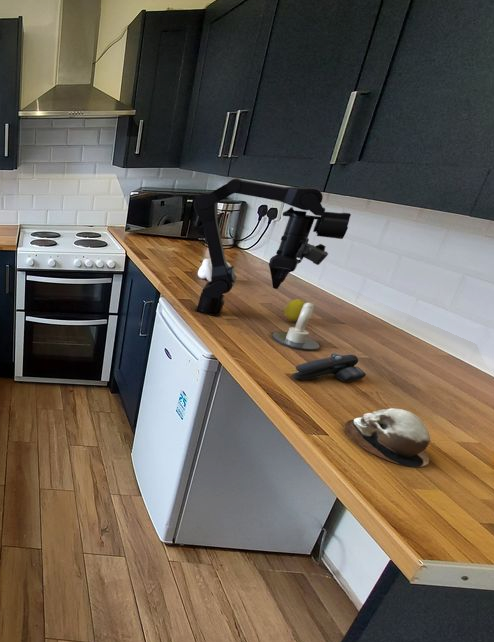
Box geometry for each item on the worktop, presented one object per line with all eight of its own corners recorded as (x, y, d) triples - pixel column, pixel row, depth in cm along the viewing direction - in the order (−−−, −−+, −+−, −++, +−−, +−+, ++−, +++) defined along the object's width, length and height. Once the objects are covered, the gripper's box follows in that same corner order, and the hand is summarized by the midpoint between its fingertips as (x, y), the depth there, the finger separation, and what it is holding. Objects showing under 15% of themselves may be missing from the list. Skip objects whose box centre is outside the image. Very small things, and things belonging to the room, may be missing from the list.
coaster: (268, 341, 115) (269, 339, 114) (275, 330, 122) (276, 328, 122) (316, 354, 108) (317, 353, 108) (320, 342, 115) (321, 340, 115)
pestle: (284, 339, 115) (298, 302, 110) (287, 334, 118) (301, 298, 113) (304, 345, 112) (319, 307, 107) (306, 339, 115) (321, 302, 110)
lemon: (295, 319, 131) (304, 296, 127) (306, 326, 126) (315, 302, 122) (277, 317, 131) (285, 295, 128) (287, 324, 126) (296, 301, 123)
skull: (324, 418, 80) (371, 385, 78) (347, 446, 83) (393, 415, 81) (382, 460, 69) (440, 424, 67) (406, 490, 72) (462, 456, 70)
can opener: (339, 367, 102) (348, 348, 100) (367, 382, 96) (377, 362, 93) (279, 371, 99) (287, 351, 97) (304, 387, 93) (313, 366, 90)
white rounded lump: (225, 278, 169) (231, 257, 165) (230, 286, 159) (236, 265, 155) (196, 274, 172) (201, 254, 169) (198, 282, 162) (204, 261, 159)
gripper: (328, 243, 103) (306, 299, 109) (334, 234, 116) (314, 285, 122) (277, 236, 110) (259, 289, 116) (288, 227, 122) (271, 276, 129)
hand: (278, 285), depth 121 cm, fingers open, 9 cm apart
